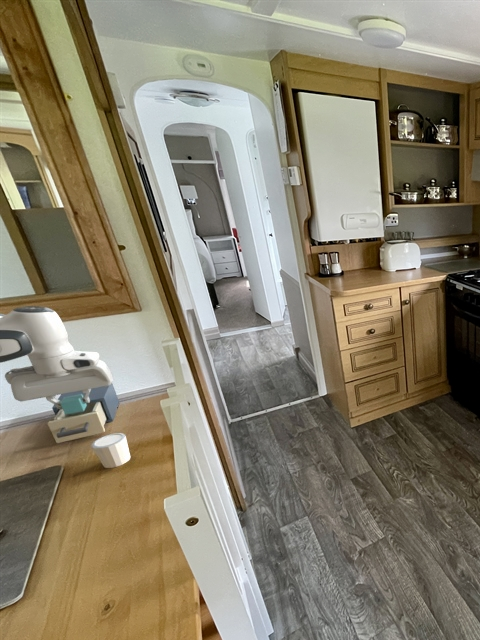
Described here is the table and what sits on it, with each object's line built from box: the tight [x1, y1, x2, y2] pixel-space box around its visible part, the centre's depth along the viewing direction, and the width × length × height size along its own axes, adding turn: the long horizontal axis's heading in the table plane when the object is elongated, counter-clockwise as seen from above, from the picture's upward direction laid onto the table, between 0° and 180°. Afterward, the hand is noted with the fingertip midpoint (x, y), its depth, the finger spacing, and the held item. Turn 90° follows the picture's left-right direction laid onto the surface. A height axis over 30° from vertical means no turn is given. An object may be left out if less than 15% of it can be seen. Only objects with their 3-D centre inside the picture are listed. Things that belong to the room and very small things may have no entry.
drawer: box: [47, 401, 107, 444], centre depth 113 cm, size 17×10×7 cm, turn 34°
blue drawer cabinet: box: [51, 382, 120, 424], centre depth 121 cm, size 14×12×9 cm
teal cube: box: [60, 394, 87, 415], centre depth 111 cm, size 4×4×4 cm
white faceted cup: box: [90, 432, 131, 469], centre depth 101 cm, size 7×7×7 cm
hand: (74, 405), depth 111 cm, fingers closed on teal cube, 4 cm apart
